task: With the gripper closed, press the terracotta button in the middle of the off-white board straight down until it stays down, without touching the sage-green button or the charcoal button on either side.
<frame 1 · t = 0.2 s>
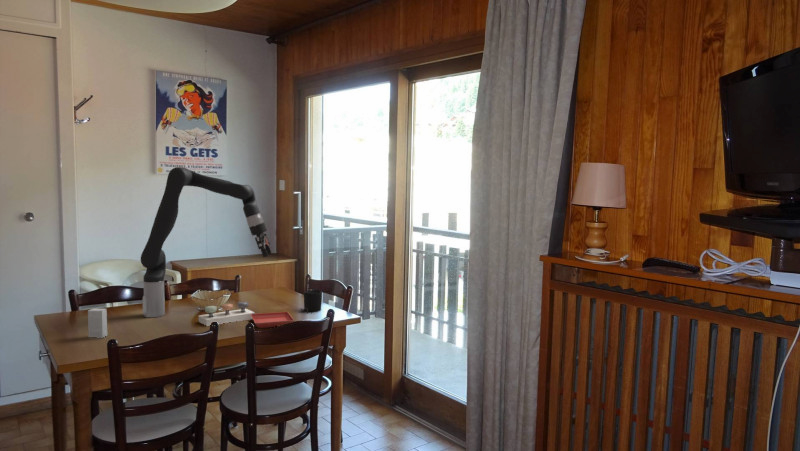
hand: (267, 255, 272), 31 cm above the table, tool tilted 20°, fingers open, 8 cm apart
plant saucer: (272, 324, 266), on the table
sage button: (210, 312, 263), point 5 cm above the table, slide at 0.0 cm
charcoal button: (242, 307, 274), point 5 cm above the table, slide at 0.0 cm
button board: (227, 320, 269), on the table
terracotta button: (227, 310, 268), point 5 cm above the table, slide at 0.0 cm
pen holder: (312, 310, 293), on the table
skincare box: (98, 337, 237), on the table
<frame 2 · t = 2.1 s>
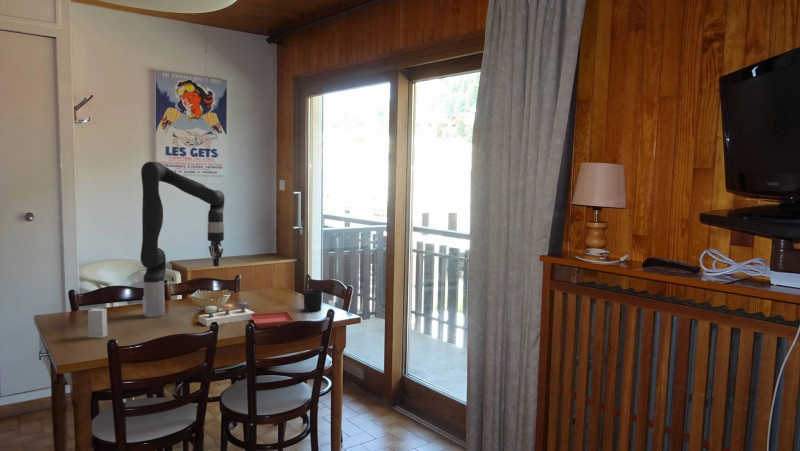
hand: (216, 266, 274), 25 cm above the table, tool pointing down, fingers closed
nothing on the table moved.
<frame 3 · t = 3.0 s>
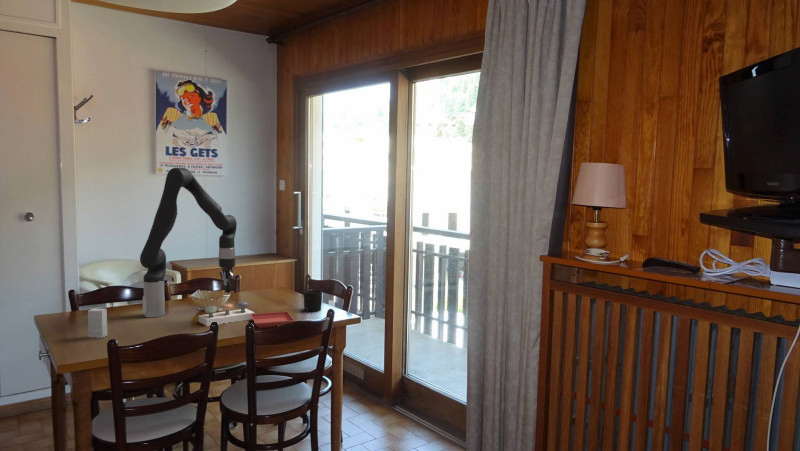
hand: (227, 292, 268), 13 cm above the table, tool pointing down, fingers closed
nothing on the table moved.
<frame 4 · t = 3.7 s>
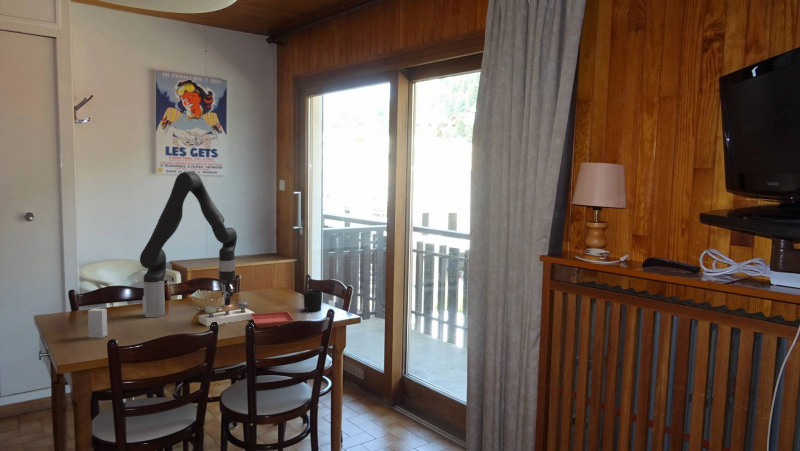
hand: (227, 305, 268), 7 cm above the table, tool pointing down, fingers closed
terracotta button: (227, 310, 268), point 5 cm above the table, slide at 0.1 cm, touching gripper
everything else where it was.
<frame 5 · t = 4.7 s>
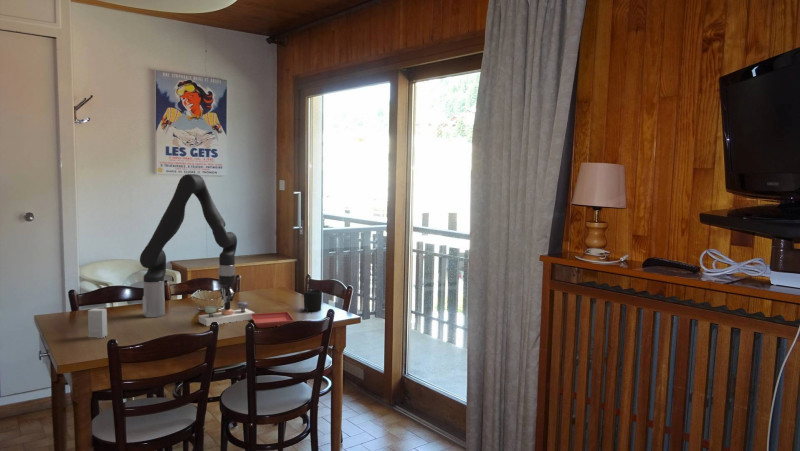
hand: (227, 309, 268), 5 cm above the table, tool pointing down, fingers closed
terracotta button: (227, 314, 269), point 3 cm above the table, slide at 2.2 cm
everything else where it was.
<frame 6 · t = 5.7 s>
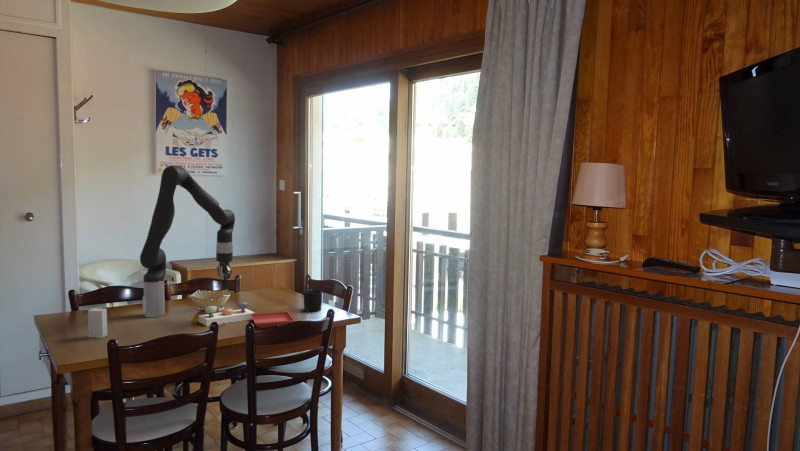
hand: (224, 286, 268), 16 cm above the table, tool pointing down, fingers closed
nothing on the table moved.
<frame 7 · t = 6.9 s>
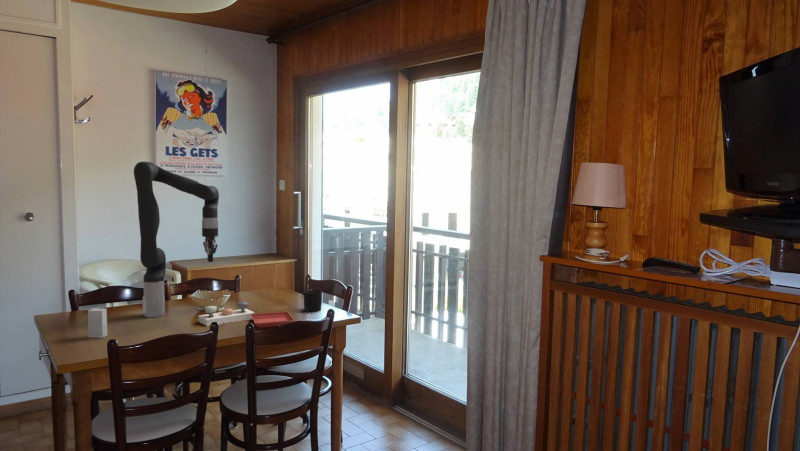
hand: (210, 261, 274), 27 cm above the table, tool pointing down, fingers closed
nothing on the table moved.
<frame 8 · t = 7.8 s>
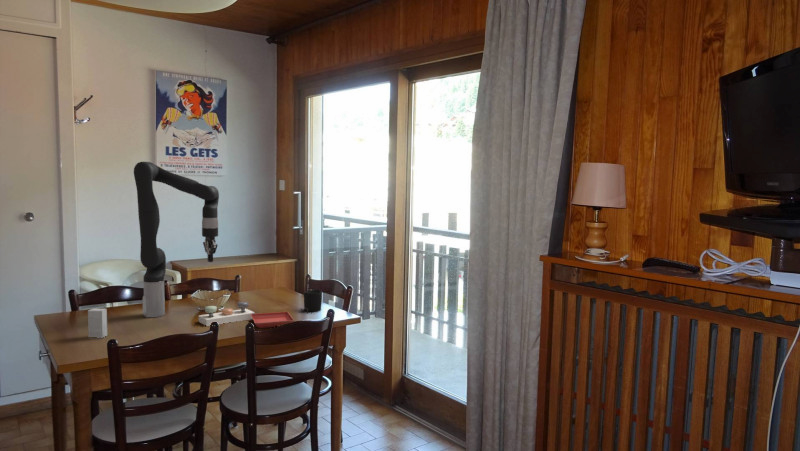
hand: (210, 261, 274), 27 cm above the table, tool pointing down, fingers closed
nothing on the table moved.
at the end: terracotta button slide at 2.2 cm; sage button slide at 0.0 cm; charcoal button slide at 0.0 cm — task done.
